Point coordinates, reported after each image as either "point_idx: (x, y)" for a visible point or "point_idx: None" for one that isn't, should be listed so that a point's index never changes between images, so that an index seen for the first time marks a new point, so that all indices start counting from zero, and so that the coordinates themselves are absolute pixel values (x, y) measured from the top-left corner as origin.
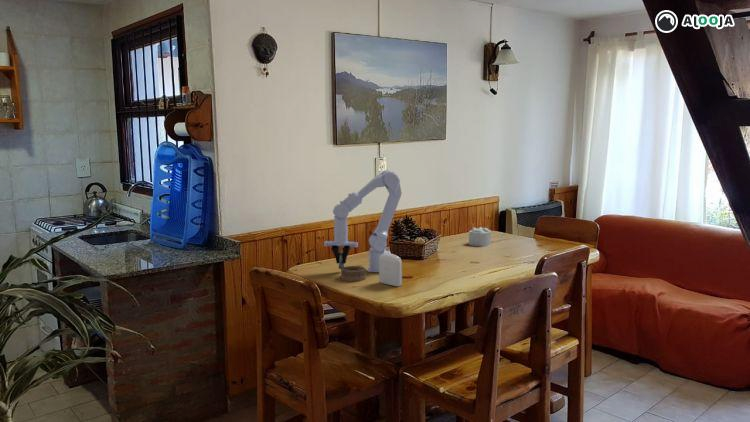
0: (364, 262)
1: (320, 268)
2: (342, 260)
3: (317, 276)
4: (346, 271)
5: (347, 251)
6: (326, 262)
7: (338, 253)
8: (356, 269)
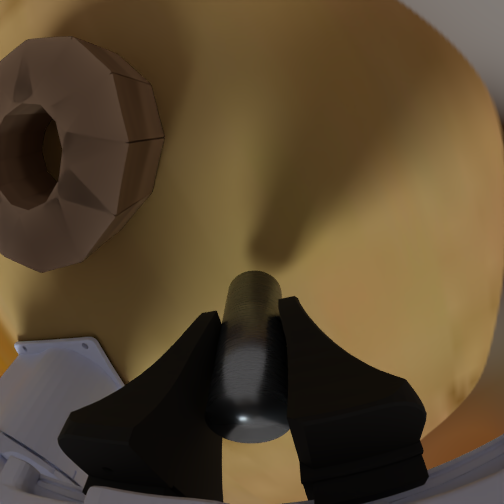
0: (237, 469)
1: (444, 308)
2: (224, 331)
3: (385, 68)
4: (37, 38)
5: (90, 404)
6: (426, 415)
7: (283, 396)
8: (34, 204)
